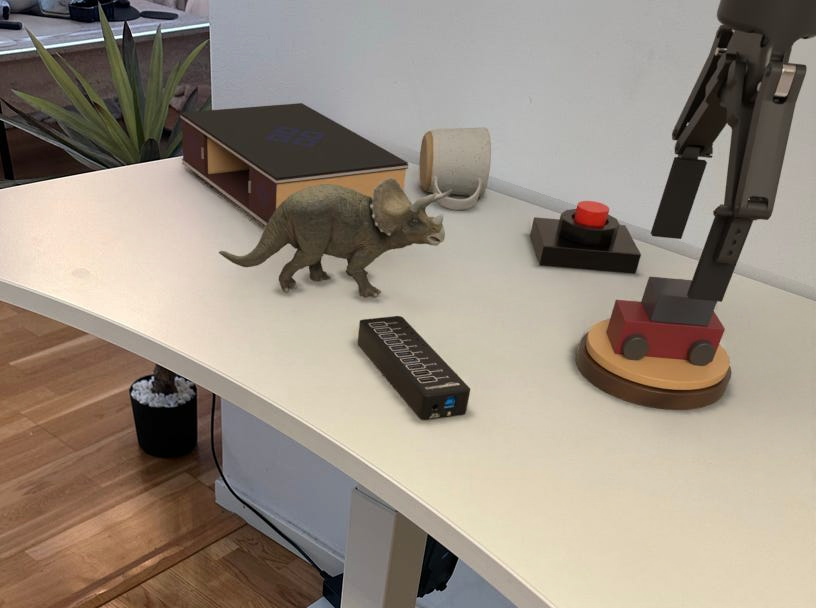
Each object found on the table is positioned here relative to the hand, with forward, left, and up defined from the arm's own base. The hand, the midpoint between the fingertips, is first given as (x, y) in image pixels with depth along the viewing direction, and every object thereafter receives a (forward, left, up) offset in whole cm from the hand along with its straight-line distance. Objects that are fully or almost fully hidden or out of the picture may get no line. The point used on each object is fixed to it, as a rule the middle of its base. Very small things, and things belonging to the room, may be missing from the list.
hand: (683, 265), depth 79 cm
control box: (+2, -28, -10) cm, 30 cm away
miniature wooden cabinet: (+37, -39, -10) cm, 55 cm away
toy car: (0, 0, -8) cm, 8 cm away
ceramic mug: (+16, -44, -10) cm, 48 cm away
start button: (+2, -28, -6) cm, 29 cm away
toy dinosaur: (+31, -13, -10) cm, 35 cm away
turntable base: (0, 0, -10) cm, 10 cm away
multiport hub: (+23, +5, -10) cm, 25 cm away
